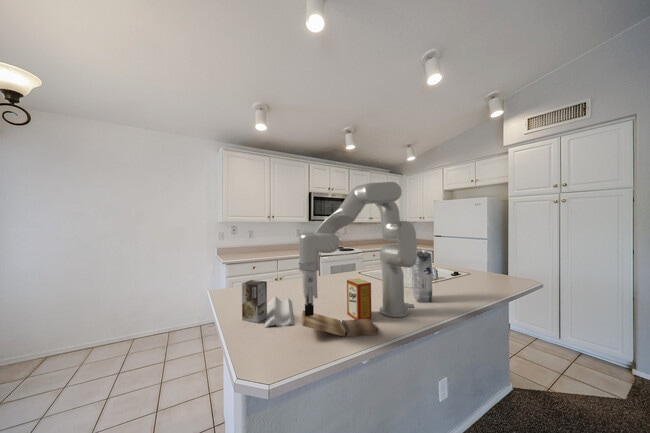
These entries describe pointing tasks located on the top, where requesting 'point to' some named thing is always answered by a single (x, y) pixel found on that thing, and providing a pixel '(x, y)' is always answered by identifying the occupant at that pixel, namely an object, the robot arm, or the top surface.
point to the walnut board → (359, 327)
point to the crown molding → (279, 313)
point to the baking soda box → (359, 299)
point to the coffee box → (254, 301)
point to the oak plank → (323, 324)
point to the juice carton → (422, 277)
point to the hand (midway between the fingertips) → (309, 314)
